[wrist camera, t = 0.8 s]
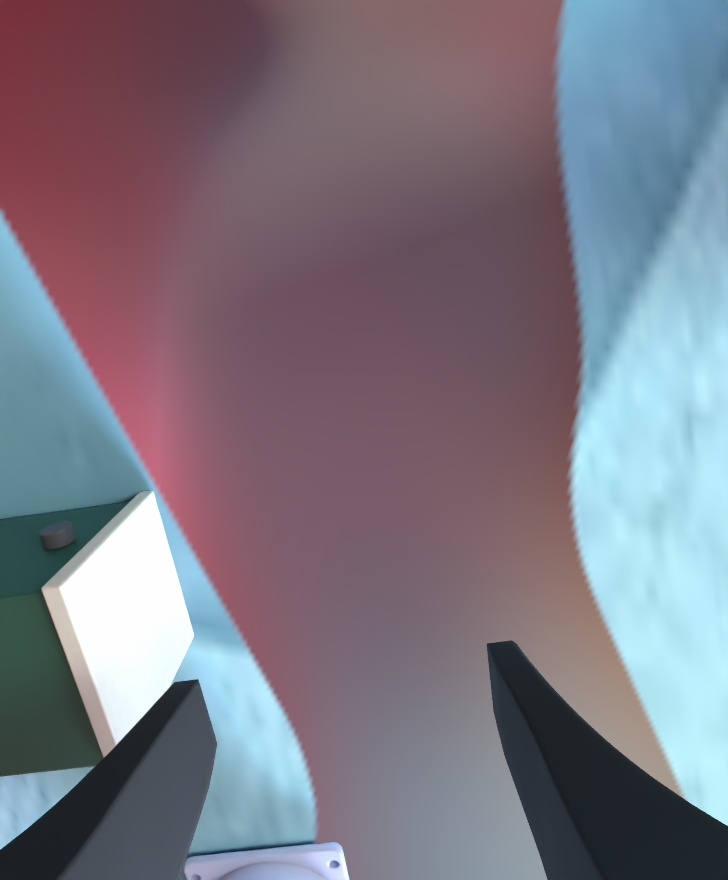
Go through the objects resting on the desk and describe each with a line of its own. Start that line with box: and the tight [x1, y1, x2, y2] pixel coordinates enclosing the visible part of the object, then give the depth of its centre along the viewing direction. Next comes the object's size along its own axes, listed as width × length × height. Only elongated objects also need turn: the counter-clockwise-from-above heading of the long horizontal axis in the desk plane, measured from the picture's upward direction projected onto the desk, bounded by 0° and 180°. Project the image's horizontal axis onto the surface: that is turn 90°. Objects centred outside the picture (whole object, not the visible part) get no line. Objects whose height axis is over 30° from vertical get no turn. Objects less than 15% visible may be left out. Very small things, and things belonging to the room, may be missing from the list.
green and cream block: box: [0, 491, 194, 777], centre depth 20 cm, size 9×8×7 cm
